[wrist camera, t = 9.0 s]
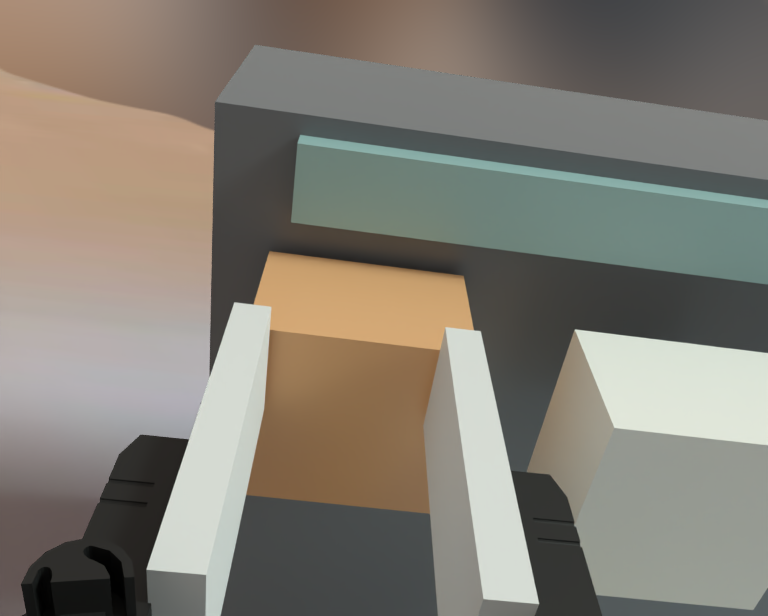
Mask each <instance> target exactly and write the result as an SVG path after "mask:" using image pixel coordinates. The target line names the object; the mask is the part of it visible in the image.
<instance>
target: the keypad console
mask: <svg viewBox="0 0 768 616" xmlns="http://www.w3.org/2000/svg"><path fill="white" fill-rule="evenodd" d="M269 251H273V252H281V253H289V254H297V255H304V256H312V257H320V258H328V259H336V260H344V261H352V262H360V263H367V264H375V265H383V266H391V267H399V268H407V269H415V270H422V271H430V272H438V273H446V274H454V275H462V276H464V280H465V286H466V291H467V296H468V302H469V307H470V312H471V318H472V323H473V328H474V331H481V335H482V340H483V344H484V349H485V354H486V358H487V363H488V368H489V372H490V377H491V382H492V386H493V391H494V396H495V400H496V405H497V410H498V414H499V419H500V424H501V428H502V433H503V438H504V442H505V447H506V452H507V456H508V461H509V466H510V470H511V471H520V472H527V469H528V466H529V463H530V460H531V457H532V454H533V451H534V448H535V445H536V442H537V439H538V436H539V433H540V430H541V428H542V425H543V422H544V419H545V416H546V413H547V410H548V407H549V404H550V401H551V398H552V395H553V392H554V389H555V386H556V383H557V380H558V377H559V374H560V371H561V368H562V365H563V363H564V360H565V357H566V354H567V351H568V348H569V345H570V342H571V339H572V336H573V333H574V330H575V329H576V330H584V331H592V332H600V333H608V334H616V335H624V336H633V337H641V338H649V339H657V340H665V341H673V342H681V343H689V344H698V345H706V346H714V347H722V348H730V349H738V350H746V351H754V352H763V353H768V121H766V120H760V119H753V118H746V117H738V116H733V115H726V114H719V113H712V112H705V111H699V110H691V109H684V108H678V107H672V106H665V105H658V104H651V103H645V102H638V101H631V100H624V99H617V98H611V97H604V96H597V95H590V94H584V93H576V92H570V91H563V90H556V89H549V88H543V87H536V86H529V85H523V84H516V83H509V82H502V81H495V80H489V79H482V78H475V77H468V76H462V75H455V74H448V73H442V72H435V71H428V70H421V69H414V68H408V67H401V66H394V65H387V64H380V63H374V62H366V61H360V60H354V59H346V58H340V57H333V56H325V55H319V54H313V53H306V52H299V51H293V50H286V49H279V48H272V47H266V46H259V45H255V46H254V48H253V49H252V50H251V52H250V53H249V54H248V56H247V57H246V59H245V60H244V61H243V63H242V64H241V66H240V67H239V69H238V70H237V72H236V73H235V75H234V76H233V77H232V78H231V80H230V81H229V83H228V84H227V86H226V87H225V88H224V90H223V91H222V93H221V94H220V95H219V97H218V98H217V100H216V101H215V132H214V181H213V231H212V280H211V330H210V375H211V372H212V369H213V366H214V363H215V360H216V357H217V354H218V351H219V348H220V345H221V342H222V338H223V335H224V332H225V329H226V326H227V323H228V320H229V317H230V314H231V311H232V308H233V305H234V302H235V303H244V304H252V305H254V301H255V298H256V294H257V291H258V288H259V284H260V281H261V278H262V274H263V271H264V268H265V264H266V261H267V258H268V254H269ZM596 596H597V599H598V603H599V606H600V610H601V613H602V616H768V588H767V590H766V591H765V593H764V594H763V596H762V597H761V599H760V600H759V602H758V603H757V605H756V607H755V608H754V610H747V609H737V608H726V607H716V606H705V605H695V604H684V603H674V602H664V601H653V600H643V599H632V598H622V597H611V596H601V595H596ZM221 616H438V610H437V597H436V584H435V571H434V558H433V545H432V532H431V520H430V514H427V513H417V512H408V511H398V510H388V509H378V508H369V507H359V506H349V505H339V504H330V503H320V502H310V501H300V500H291V499H281V498H271V497H261V496H251V495H246V497H245V502H244V507H243V512H242V516H241V521H240V526H239V531H238V535H237V540H236V545H235V550H234V554H233V559H232V564H231V569H230V573H229V578H228V583H227V588H226V592H225V597H224V602H223V607H222V611H221Z"/></svg>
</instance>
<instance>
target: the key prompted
mask: <svg viewBox="0 0 768 616" xmlns="http://www.w3.org/2000/svg"><path fill="white" fill-rule="evenodd" d="M254 305H261V306H269V307H271V320H270V334H269V348H268V362H267V376H266V390H265V405H264V412H263V417H262V422H261V426H260V431H259V436H258V441H257V445H256V450H255V455H254V460H253V464H252V469H251V474H250V479H249V483H248V488H247V493H246V495H251V496H261V497H271V498H281V499H291V500H300V501H310V502H320V503H330V504H339V505H349V506H359V507H369V508H378V509H388V510H398V511H408V512H417V513H427V514H430V507H429V494H428V481H427V468H426V455H425V442H424V429H423V425H424V420H425V416H426V411H427V407H428V402H429V398H430V393H431V389H432V384H433V380H434V375H435V371H436V366H437V362H438V357H439V353H440V348H441V344H442V339H443V335H444V331H445V327H449V328H457V329H466V330H474V328H473V323H472V318H471V312H470V307H469V302H468V296H467V291H466V286H465V280H464V276H462V275H454V274H446V273H438V272H430V271H422V270H415V269H407V268H399V267H391V266H383V265H375V264H367V263H360V262H352V261H344V260H336V259H328V258H320V257H312V256H304V255H297V254H289V253H281V252H273V251H269V254H268V258H267V261H266V264H265V268H264V271H263V274H262V278H261V281H260V284H259V288H258V291H257V294H256V298H255V301H254Z"/></svg>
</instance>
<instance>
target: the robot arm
mask: <svg viewBox="0 0 768 616" xmlns="http://www.w3.org/2000/svg"><path fill="white" fill-rule="evenodd" d="M270 320H271V307H269V306H261V305H252V304H244V303H235V302H234V305H233V308H232V311H231V314H230V317H229V320H228V323H227V326H226V329H225V332H224V335H223V338H222V342H221V345H220V348H219V351H218V354H217V357H216V360H215V363H214V366H213V369H212V372H211V375H210V378H209V381H208V384H207V387H206V390H205V393H204V396H203V399H202V402H201V405H200V408H199V411H198V414H197V417H196V420H195V424H194V427H193V430H192V433H191V436H190V439H179V438H169V437H159V436H149V435H140V436H139V437H138V438H137V439H135V440H134V441H133V442H132V443H131V444H130V445H129V446H128V447H127V448H126V449H125V450H124V451H122V452H121V453H120V454H119V456H118V459H117V461H116V463H115V465H114V468H113V470H112V472H111V475H110V477H109V482H108V483H107V484H106V486H105V488H104V491H103V493H102V495H101V497H100V502H99V503H98V504H97V507H96V509H95V511H94V513H93V516H92V518H91V520H90V522H89V525H88V527H87V529H86V532H85V534H84V536H83V538H82V539H80V540H75V541H70V542H65V543H63V544H61V545H59V546H57V547H55V548H53V549H51V550H49V551H47V552H45V553H44V554H43V555H42V556H41V557H40V558H39V559H38V560H37V561H36V562H35V563H34V564H32V565H31V566H30V568H29V570H28V572H27V574H26V576H25V578H24V580H23V582H22V583H21V586H22V592H23V597H24V602H25V608H26V614H24V615H22V616H221V611H222V607H223V602H224V597H225V592H226V588H227V583H228V578H229V573H230V569H231V564H232V559H233V554H234V550H235V545H236V540H237V535H238V531H239V526H240V521H241V516H242V512H243V507H244V502H245V497H246V493H247V488H248V483H249V479H250V474H251V469H252V464H253V460H254V455H255V450H256V445H257V441H258V436H259V431H260V426H261V422H262V417H263V412H264V405H265V390H266V376H267V362H268V348H269V334H270ZM423 429H424V442H425V455H426V468H427V481H428V494H429V507H430V520H431V532H432V545H433V558H434V571H435V584H436V597H437V610H438V616H602V613H601V610H600V606H599V603H598V599H597V596H596V593H595V589H594V586H593V582H592V579H591V576H590V572H589V569H588V566H587V562H586V559H585V555H584V552H583V549H582V547H580V538H579V535H578V532H577V528H576V526H574V522H575V521H574V518H573V515H572V511H571V508H570V504H569V501H568V498H567V496H566V495H565V493H564V492H563V491H562V490H561V488H560V487H559V486H558V484H557V483H556V482H555V481H554V479H553V478H552V477H551V475H549V474H539V473H530V472H520V471H511V470H510V466H509V461H508V456H507V452H506V447H505V442H504V438H503V433H502V428H501V424H500V419H499V414H498V410H497V405H496V400H495V396H494V391H493V386H492V382H491V377H490V372H489V368H488V363H487V358H486V354H485V349H484V344H483V340H482V335H481V331H474V330H466V329H457V328H449V327H445V331H444V335H443V339H442V344H441V348H440V353H439V357H438V362H437V366H436V371H435V375H434V380H433V384H432V389H431V393H430V398H429V402H428V407H427V411H426V416H425V420H424V425H423Z"/></svg>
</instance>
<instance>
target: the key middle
mask: <svg viewBox="0 0 768 616" xmlns="http://www.w3.org/2000/svg"><path fill="white" fill-rule="evenodd" d="M527 472H530V473H539V474H549V475H551V477H552V478H553V479H554V481H555V482H556V483H557V484H558V486H559V487H560V488H561V490H562V491H563V492H564V493H565V495H566V496H567V498H568V501H569V504H570V508H571V511H572V515H573V518H574V521H575V522H574V526H576V528H577V532H578V535H579V538H580V547H582V549H583V552H584V555H585V559H586V562H587V566H588V569H589V572H590V576H591V579H592V582H593V586H594V589H595V593H596V595H601V596H611V597H622V598H632V599H643V600H653V601H664V602H674V603H684V604H695V605H705V606H716V607H726V608H737V609H747V610H754V608H755V607H756V605H757V603H758V602H759V600H760V599H761V597H762V596H763V594H764V593H765V591H766V590H767V588H768V353H763V352H754V351H746V350H738V349H730V348H722V347H714V346H706V345H698V344H689V343H681V342H673V341H665V340H657V339H649V338H641V337H633V336H624V335H616V334H608V333H600V332H592V331H584V330H576V329H575V330H574V333H573V336H572V339H571V342H570V345H569V348H568V351H567V354H566V357H565V360H564V363H563V365H562V368H561V371H560V374H559V377H558V380H557V383H556V386H555V389H554V392H553V395H552V398H551V401H550V404H549V407H548V410H547V413H546V416H545V419H544V422H543V425H542V428H541V430H540V433H539V436H538V439H537V442H536V445H535V448H534V451H533V454H532V457H531V460H530V463H529V466H528V469H527Z"/></svg>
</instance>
